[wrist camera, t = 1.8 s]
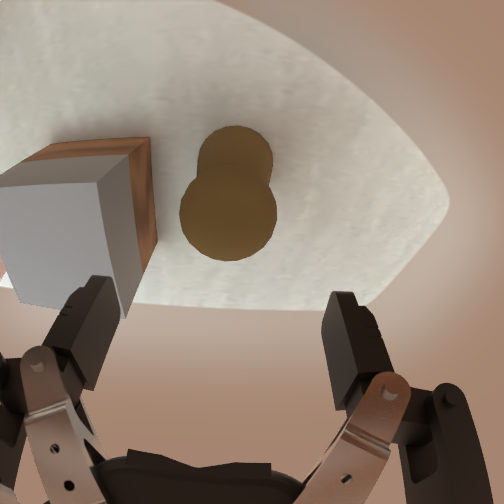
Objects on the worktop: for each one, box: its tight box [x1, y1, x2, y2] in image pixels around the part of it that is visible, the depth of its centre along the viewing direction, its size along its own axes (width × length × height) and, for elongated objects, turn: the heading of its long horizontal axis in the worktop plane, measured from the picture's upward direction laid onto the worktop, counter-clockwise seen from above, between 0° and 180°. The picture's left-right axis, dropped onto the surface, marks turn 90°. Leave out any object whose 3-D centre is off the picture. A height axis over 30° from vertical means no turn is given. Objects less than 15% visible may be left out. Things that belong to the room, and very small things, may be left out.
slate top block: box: [0, 155, 143, 319], centre depth 19 cm, size 10×10×5 cm
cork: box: [179, 126, 277, 261], centre depth 20 cm, size 6×6×11 cm
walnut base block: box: [20, 137, 157, 274], centre depth 23 cm, size 10×10×5 cm
